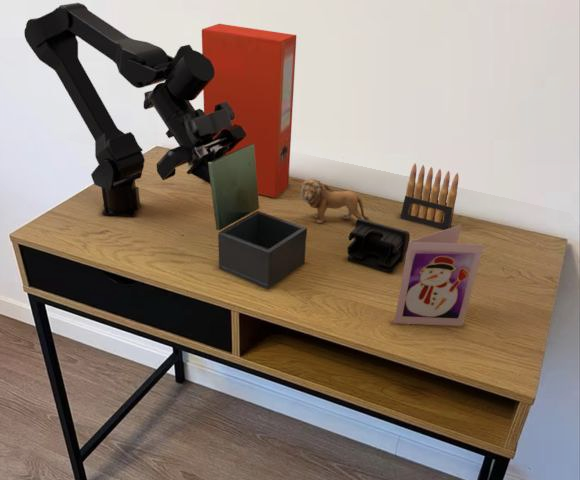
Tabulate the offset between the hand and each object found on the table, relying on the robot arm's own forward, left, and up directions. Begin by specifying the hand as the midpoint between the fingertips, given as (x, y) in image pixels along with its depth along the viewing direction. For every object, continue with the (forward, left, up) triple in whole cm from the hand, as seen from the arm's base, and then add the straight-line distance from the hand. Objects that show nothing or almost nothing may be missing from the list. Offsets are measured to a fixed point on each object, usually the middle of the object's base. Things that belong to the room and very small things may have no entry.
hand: (229, 192), depth 113 cm
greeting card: (+35, -17, -12) cm, 41 cm away
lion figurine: (+20, +16, -12) cm, 28 cm away
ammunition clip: (+40, +18, -12) cm, 45 cm away
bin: (+6, -4, -12) cm, 14 cm away
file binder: (+1, +32, -12) cm, 35 cm away
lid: (+1, -1, +2) cm, 2 cm away
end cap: (+28, +1, -12) cm, 30 cm away
